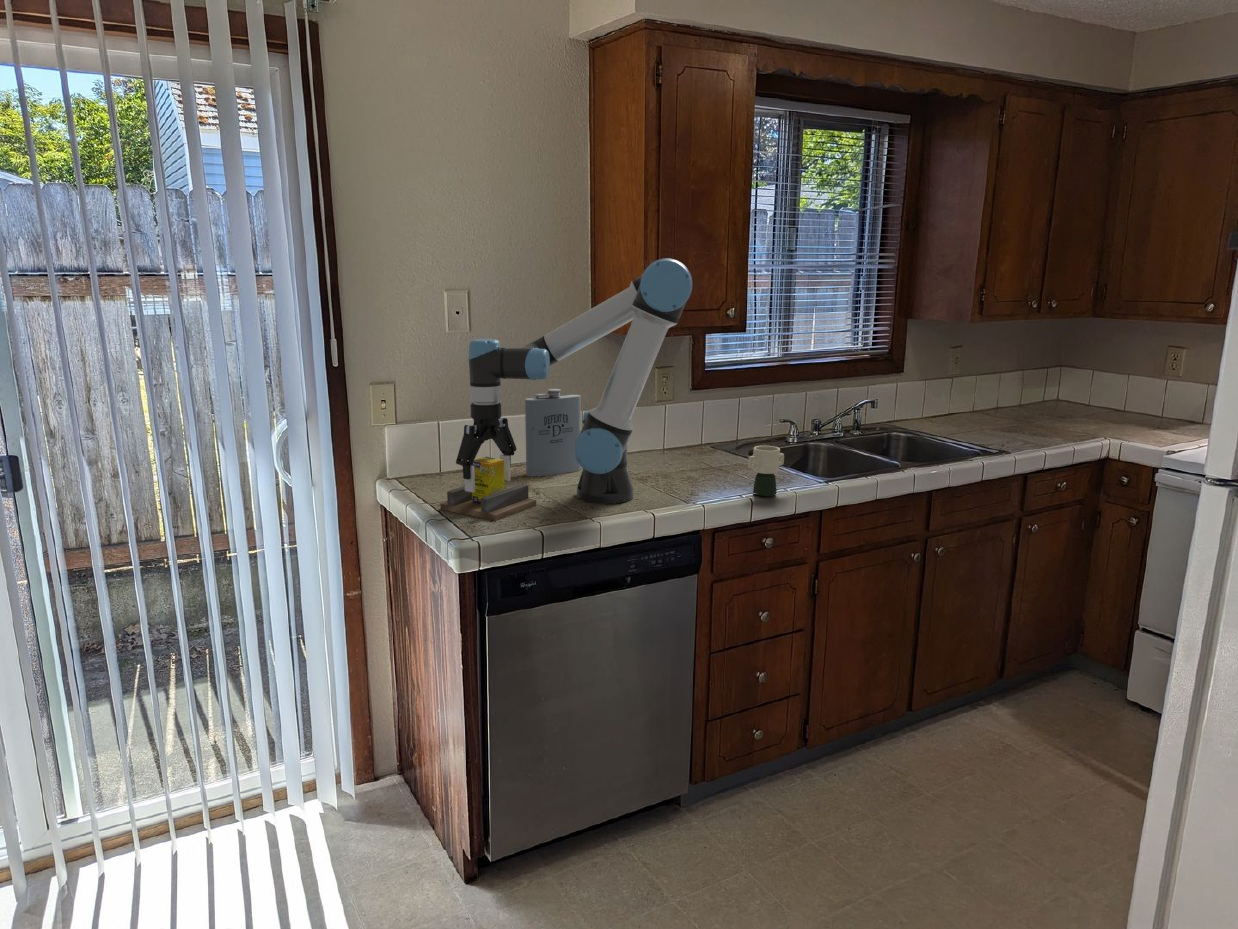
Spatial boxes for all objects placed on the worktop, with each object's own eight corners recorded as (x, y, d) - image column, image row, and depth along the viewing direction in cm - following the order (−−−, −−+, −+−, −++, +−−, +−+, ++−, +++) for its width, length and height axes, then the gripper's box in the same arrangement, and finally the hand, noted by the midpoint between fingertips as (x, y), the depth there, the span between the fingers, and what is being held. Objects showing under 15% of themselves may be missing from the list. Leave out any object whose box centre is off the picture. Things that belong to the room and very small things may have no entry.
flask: (531, 477, 249) (529, 391, 243) (524, 474, 253) (523, 389, 247) (584, 470, 257) (584, 387, 252) (576, 467, 261) (576, 385, 255)
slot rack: (536, 505, 221) (535, 486, 220) (495, 520, 207) (495, 500, 206) (482, 495, 230) (482, 477, 229) (440, 509, 217) (439, 490, 216)
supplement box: (471, 502, 218) (470, 460, 215) (487, 497, 222) (486, 456, 220) (489, 506, 214) (488, 463, 212) (505, 500, 219) (504, 459, 217)
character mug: (774, 490, 237) (777, 444, 234) (789, 496, 231) (791, 449, 228) (740, 494, 233) (742, 447, 230) (753, 500, 227) (756, 452, 224)
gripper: (506, 394, 225) (508, 473, 230) (438, 407, 204) (442, 494, 209) (529, 397, 221) (530, 477, 226) (462, 410, 200) (465, 498, 205)
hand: (488, 485), depth 217 cm, fingers open, 13 cm apart
